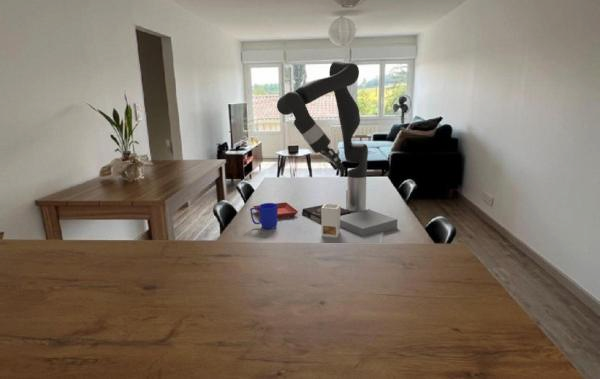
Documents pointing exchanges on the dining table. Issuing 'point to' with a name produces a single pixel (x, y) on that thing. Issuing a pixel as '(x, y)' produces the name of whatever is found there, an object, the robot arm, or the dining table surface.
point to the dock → (367, 222)
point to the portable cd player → (319, 213)
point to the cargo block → (330, 230)
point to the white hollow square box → (330, 218)
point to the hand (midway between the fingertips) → (340, 169)
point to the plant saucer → (283, 210)
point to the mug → (267, 215)
